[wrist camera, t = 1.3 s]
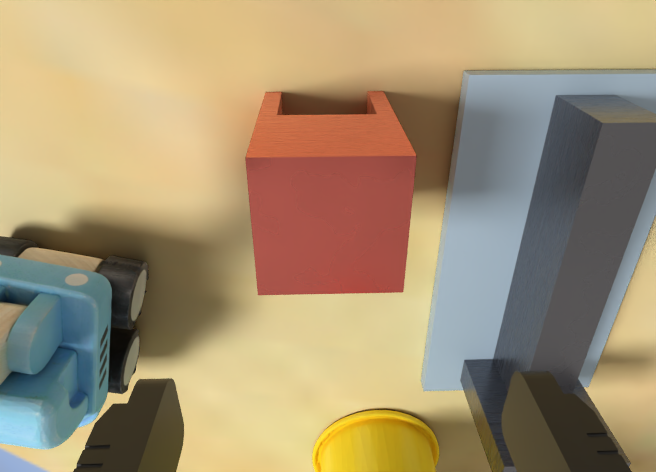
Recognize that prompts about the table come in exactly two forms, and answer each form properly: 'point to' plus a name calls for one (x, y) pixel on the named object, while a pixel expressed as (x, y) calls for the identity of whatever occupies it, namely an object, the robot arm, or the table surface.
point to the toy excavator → (63, 338)
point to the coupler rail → (566, 254)
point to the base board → (509, 209)
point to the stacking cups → (376, 444)
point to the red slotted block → (330, 200)
